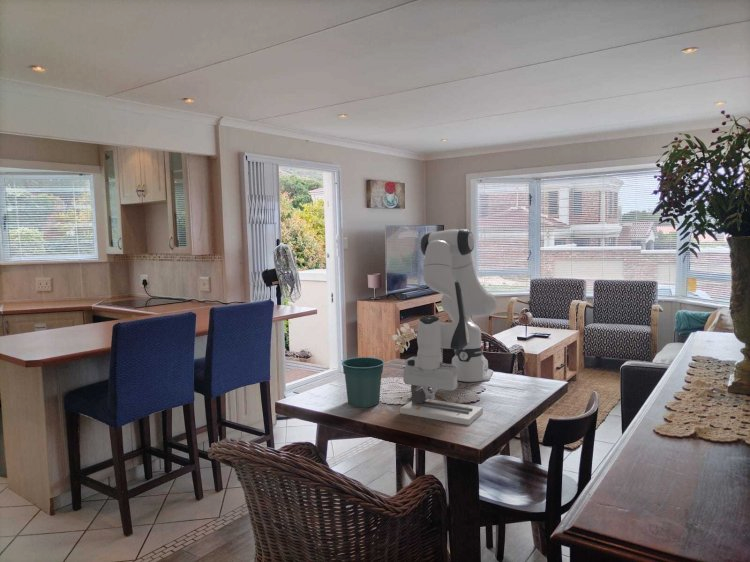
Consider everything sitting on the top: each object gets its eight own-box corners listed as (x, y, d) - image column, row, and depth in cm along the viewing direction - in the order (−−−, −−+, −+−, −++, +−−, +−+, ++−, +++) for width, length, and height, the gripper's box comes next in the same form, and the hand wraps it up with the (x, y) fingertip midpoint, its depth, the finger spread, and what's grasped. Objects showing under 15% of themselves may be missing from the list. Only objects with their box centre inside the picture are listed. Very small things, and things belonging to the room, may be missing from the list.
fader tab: (419, 400, 201) (418, 385, 200) (427, 401, 199) (427, 387, 199) (411, 404, 196) (411, 389, 195) (420, 406, 194) (420, 391, 194)
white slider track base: (417, 402, 206) (417, 395, 206) (482, 412, 193) (482, 405, 192) (400, 413, 194) (400, 405, 194) (468, 425, 181) (468, 417, 180)
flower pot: (392, 399, 210) (391, 359, 208) (372, 412, 195) (371, 369, 194) (356, 394, 218) (355, 355, 216) (334, 406, 203) (333, 364, 202)
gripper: (460, 362, 191) (460, 400, 193) (408, 356, 202) (409, 392, 203) (453, 366, 186) (453, 405, 187) (400, 360, 196) (401, 397, 198)
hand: (430, 398), depth 195 cm, fingers closed
